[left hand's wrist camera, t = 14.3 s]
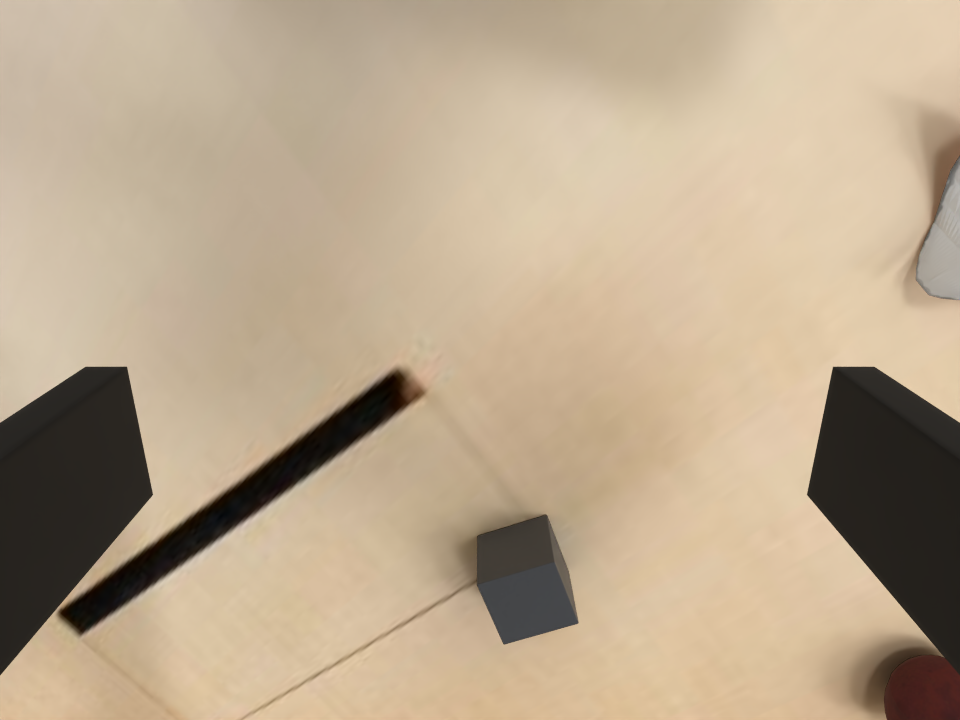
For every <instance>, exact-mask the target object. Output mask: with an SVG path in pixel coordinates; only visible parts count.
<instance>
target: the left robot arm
mask: <svg viewBox="0 0 960 720" xmlns="http://www.w3.org/2000/svg"><path fill="white" fill-rule="evenodd" d="M152 495H153V493H152V488H151V483H150V478H149V473H148V468H147V463H146V458H145V454H144V449H143V444H142V439H141V434H140V429H139V424H138V419H137V414H136V409H135V404H134V399H133V394H132V390H131V385H130V380H129V375H128V370H127V367H85V368H83V369H82V370H80V371H79V372H77V373H76V374H74V375H72V376H71V377H69V378H68V379H66V380H65V381H63V382H62V383H60V384H59V385H57V386H56V387H54V388H53V389H51V390H50V391H48V392H47V393H45V394H44V395H42V396H40V397H39V398H37V399H36V400H34V401H33V402H31V403H30V404H28V405H27V406H25V407H24V408H22V409H21V410H19V411H18V412H16V413H15V414H13V415H12V416H10V417H8V418H7V419H5V420H4V421H2V422H1V423H0V675H1V674H2V673H3V671H4V670H5V669H6V668H7V667H8V665H9V664H10V663H11V662H12V661H13V660H14V658H15V657H16V656H17V655H18V654H19V652H20V651H21V650H22V649H23V648H24V647H25V645H26V644H27V643H28V642H29V641H30V639H31V638H32V637H33V636H34V635H35V634H36V632H37V631H38V630H39V629H40V628H41V626H42V625H43V624H44V623H45V622H46V621H47V619H48V618H49V617H50V616H51V615H52V613H53V612H54V611H55V610H56V609H57V608H58V606H59V605H60V604H61V603H62V602H63V600H64V599H65V598H66V597H67V596H68V595H69V593H70V592H71V591H72V590H73V589H74V587H75V586H76V585H77V584H78V583H79V582H80V580H81V579H82V578H83V577H84V576H85V574H86V573H87V572H88V571H89V570H90V569H91V567H92V566H93V565H94V564H95V563H96V561H97V560H98V559H99V558H100V557H101V556H102V554H103V553H104V552H105V551H106V550H107V548H108V547H109V546H110V545H111V544H112V543H113V541H114V540H115V539H116V538H117V537H118V535H119V534H120V533H121V532H122V531H123V530H124V528H125V527H126V526H127V525H128V524H129V522H130V521H131V520H132V519H133V518H134V517H135V515H136V514H137V513H138V512H139V511H140V509H141V508H142V507H143V506H144V505H145V504H146V502H147V501H148V500H149V499H150V498H151V496H152ZM807 495H808V496H809V498H810V499H811V500H812V501H813V502H814V504H815V505H816V506H817V507H818V508H819V509H820V511H821V512H822V513H823V514H824V515H825V517H826V518H827V519H828V520H829V521H830V522H831V524H832V525H833V526H834V527H835V528H836V530H837V531H838V532H839V533H840V534H841V535H842V537H843V538H844V539H845V540H846V541H847V543H848V544H849V545H850V546H851V547H852V548H853V550H854V551H855V552H856V553H857V554H858V556H859V557H860V558H861V559H862V560H863V561H864V563H865V564H866V565H867V566H868V567H869V569H870V570H871V571H872V572H873V573H874V574H875V576H876V577H877V578H878V579H879V580H880V582H881V583H882V584H883V585H884V586H885V587H886V589H887V590H888V591H889V592H890V593H891V595H892V596H893V597H894V598H895V599H896V600H897V602H898V603H899V604H900V605H901V606H902V608H903V609H904V610H905V611H906V612H907V613H908V615H909V616H910V617H911V618H912V619H913V621H914V622H915V623H916V624H917V625H918V626H919V628H920V629H921V630H922V631H923V632H924V634H925V635H926V636H927V637H928V638H929V639H930V641H931V642H932V643H933V644H934V645H935V647H936V648H937V649H938V650H939V651H940V652H941V654H942V655H943V656H944V657H945V658H946V660H947V661H948V662H949V663H950V664H951V665H952V667H953V668H954V669H955V670H956V671H957V673H958V674H959V675H960V423H959V422H958V421H956V420H955V419H953V418H952V417H950V416H948V415H947V414H945V413H944V412H942V411H941V410H939V409H938V408H936V407H935V406H933V405H932V404H930V403H929V402H927V401H926V400H924V399H923V398H921V397H920V396H918V395H916V394H915V393H913V392H912V391H910V390H909V389H907V388H906V387H904V386H903V385H901V384H900V383H898V382H897V381H895V380H894V379H892V378H891V377H889V376H888V375H886V374H884V373H883V372H881V371H880V370H878V369H877V368H875V367H833V370H832V375H831V380H830V385H829V390H828V394H827V399H826V404H825V409H824V414H823V419H822V424H821V429H820V434H819V439H818V444H817V449H816V453H815V458H814V463H813V468H812V473H811V478H810V483H809V488H808V493H807Z"/></svg>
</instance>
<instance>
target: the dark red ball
mask: <svg viewBox="0 0 960 720" xmlns="http://www.w3.org/2000/svg"><path fill="white" fill-rule="evenodd" d="M884 704H885V713H886V717H887V720H960V675H959V674H958V673H957V671H956V670H955V669H954V668H953V667H952V665H951V664H950V663H949V662H948V661H947V660H946V658H944V657H940V656H935V655H920V656H916V657H913V658H910V659H907V660H906V661H904V662H903V663H901V664H900V665H898V667H897V668H896V669H895V670H894V671H893V672H892V674H891V677H890V679H889V682H888V684H887V686H886V689H885V696H884Z"/></svg>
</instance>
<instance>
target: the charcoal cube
mask: <svg viewBox="0 0 960 720" xmlns="http://www.w3.org/2000/svg"><path fill="white" fill-rule="evenodd" d="M477 586H478V588H479V591H480V593H481V595H482V597H483V600H484V602H485V604H486V606H487V608H488V611H489V613H490V615H491V617H492V620H493V622H494V624H495V626H496V629H497V631H498V633H499V635H500V637H501V640H502V642H503V644H508V643H511V642H515V641H518V640H522V639H525V638H529V637H532V636H536V635H539V634H543V633H547V632H550V631H554V630H557V629H561V628H564V627H568V626H571V625H575V624H578V617H577V612H576V607H575V602H574V597H573V591H572V586H571V581H570V576H569V571H568V568H567V566H566V563H565V561H564V558H563V555H562V553H561V550H560V548H559V545H558V542H557V540H556V537H555V535H554V532H553V529H552V527H551V524H550V522H549V519H548V516H547V515H544V516H541V517H538V518H534V519H531V520H528V521H525V522H521V523H518V524H515V525H512V526H508V527H505V528H502V529H499V530H495V531H492V532H489V533H485V534H482V535H479V536H477Z"/></svg>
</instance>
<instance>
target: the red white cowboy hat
mask: <svg viewBox="0 0 960 720" xmlns="http://www.w3.org/2000/svg"><path fill="white" fill-rule="evenodd" d="M916 281H917V282H918V283H919V284H920V285H921V287H922V288H923V289H924V290H925V291H926V293H927V294H928V295H930V296H934V297H938V298H943V299H953V300H960V156H959V158H958V159H957V161H956V163H955V164H954V166H953V167H952V169H951V171H950V174H949V177H948V180H947V183H946V186H945V189H944V192H943V195H942V198H941V201H940V204H939V207H938V211H937V214H936V217H935V220H934V223H933V225H932V227H931V229H930V231H929V233H928V234H927V236H926V238H925V241H924V244H923V246H922V249H921V252H920V254H919V258H918V263H917V267H916Z"/></svg>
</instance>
